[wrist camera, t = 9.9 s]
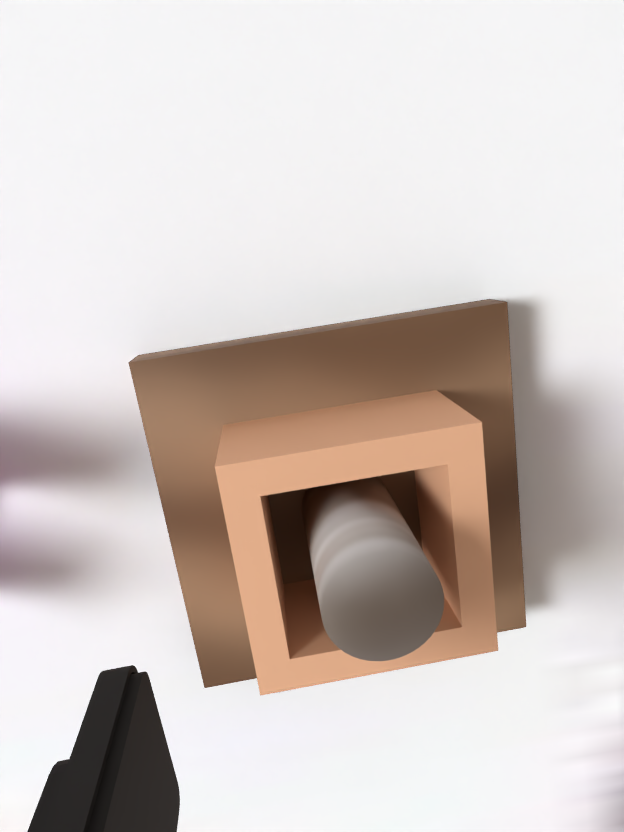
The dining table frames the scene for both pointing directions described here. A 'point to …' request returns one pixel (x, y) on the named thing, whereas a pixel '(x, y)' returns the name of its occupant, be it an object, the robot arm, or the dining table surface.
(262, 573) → the collar
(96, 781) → the robot arm
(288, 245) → the dining table surface
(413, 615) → the post stand
